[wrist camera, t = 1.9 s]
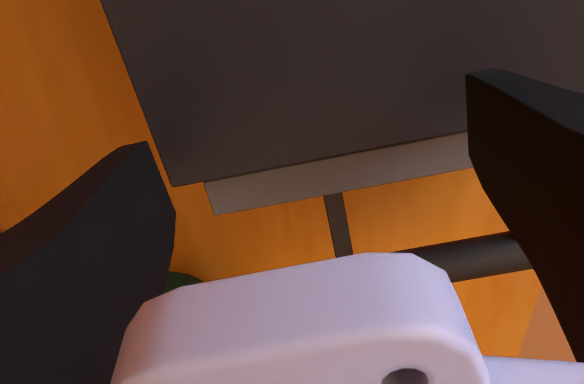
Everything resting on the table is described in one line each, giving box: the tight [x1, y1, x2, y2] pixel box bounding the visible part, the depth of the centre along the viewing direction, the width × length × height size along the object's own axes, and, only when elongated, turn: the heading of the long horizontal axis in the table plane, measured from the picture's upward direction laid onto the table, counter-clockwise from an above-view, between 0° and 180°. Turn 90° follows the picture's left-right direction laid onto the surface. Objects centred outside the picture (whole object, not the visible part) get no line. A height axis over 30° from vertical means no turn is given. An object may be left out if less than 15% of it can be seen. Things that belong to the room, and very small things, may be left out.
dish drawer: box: [203, 131, 533, 283], centre depth 16 cm, size 19×13×7 cm
